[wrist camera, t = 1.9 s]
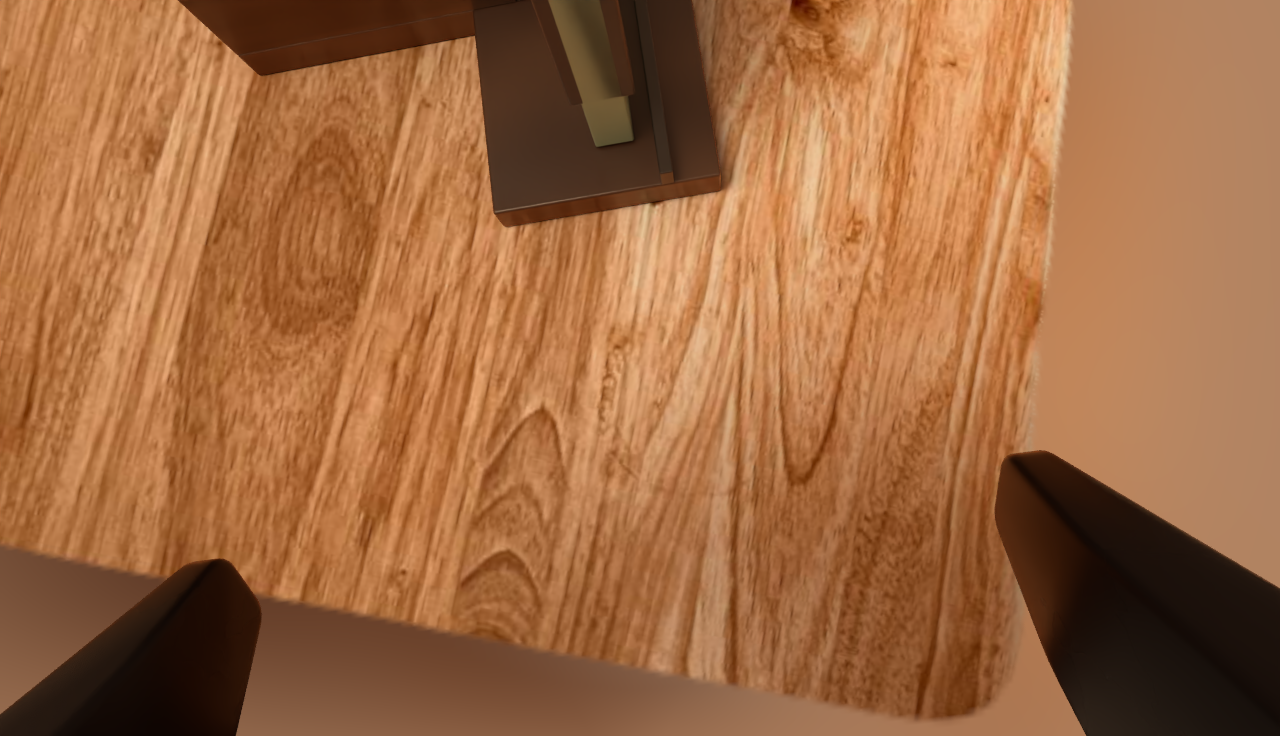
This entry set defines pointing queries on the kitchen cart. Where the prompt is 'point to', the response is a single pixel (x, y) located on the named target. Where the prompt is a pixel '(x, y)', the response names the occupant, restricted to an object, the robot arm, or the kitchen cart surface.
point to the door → (592, 62)
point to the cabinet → (517, 91)
